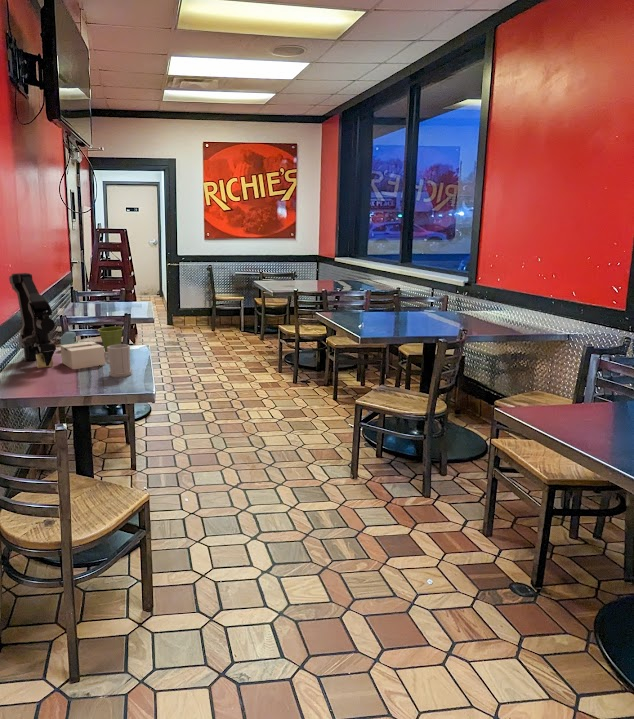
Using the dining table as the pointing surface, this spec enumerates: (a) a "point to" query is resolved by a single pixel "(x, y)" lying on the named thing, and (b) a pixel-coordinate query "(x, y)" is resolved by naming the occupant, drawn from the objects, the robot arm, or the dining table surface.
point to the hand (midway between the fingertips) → (44, 363)
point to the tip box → (82, 355)
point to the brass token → (42, 361)
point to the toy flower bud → (68, 338)
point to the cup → (118, 360)
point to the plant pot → (111, 336)
